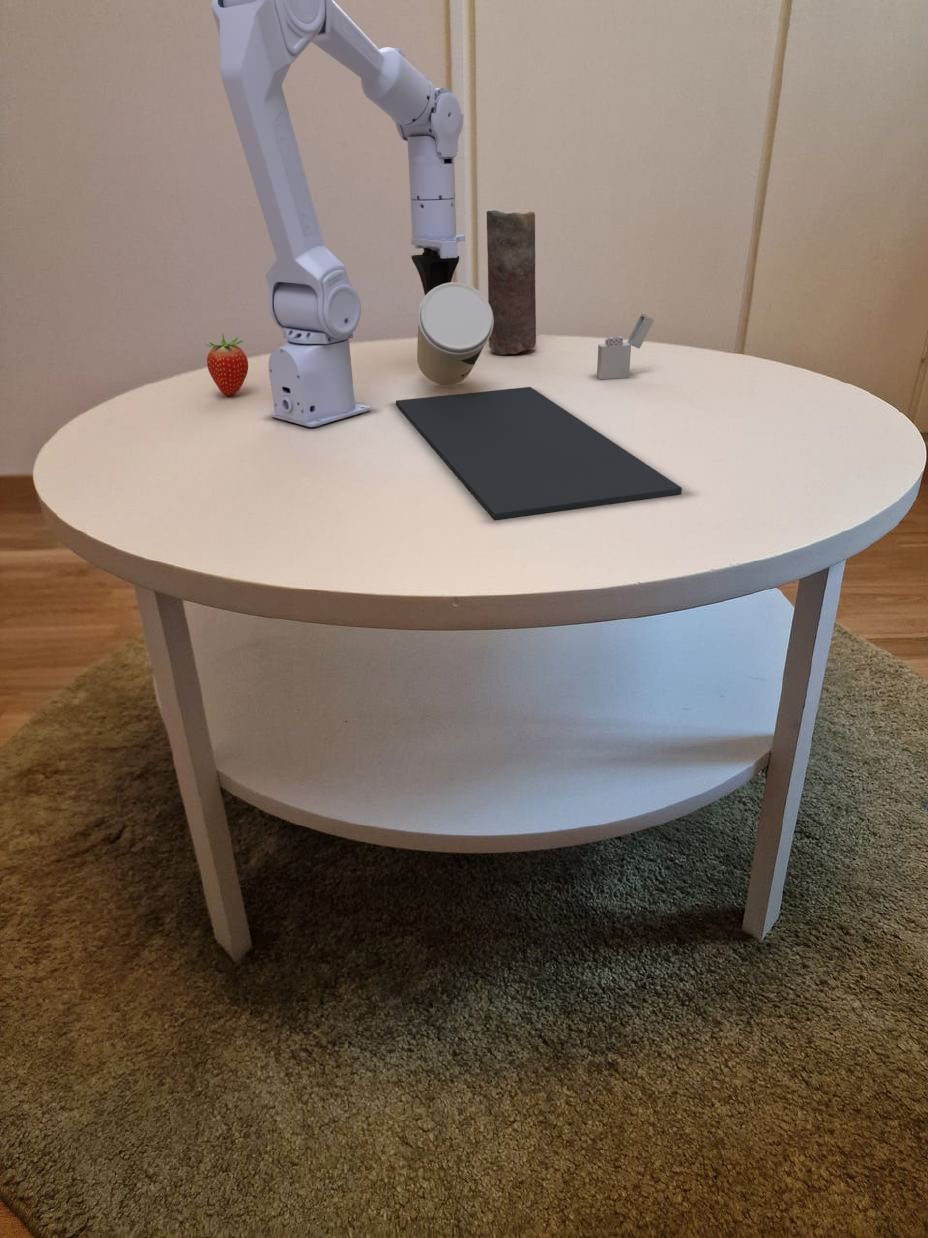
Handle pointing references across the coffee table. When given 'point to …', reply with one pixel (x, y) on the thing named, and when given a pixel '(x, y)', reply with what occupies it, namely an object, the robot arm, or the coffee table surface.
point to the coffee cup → (452, 332)
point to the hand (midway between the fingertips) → (437, 310)
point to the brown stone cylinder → (511, 281)
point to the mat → (529, 453)
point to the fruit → (227, 366)
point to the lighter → (621, 351)
